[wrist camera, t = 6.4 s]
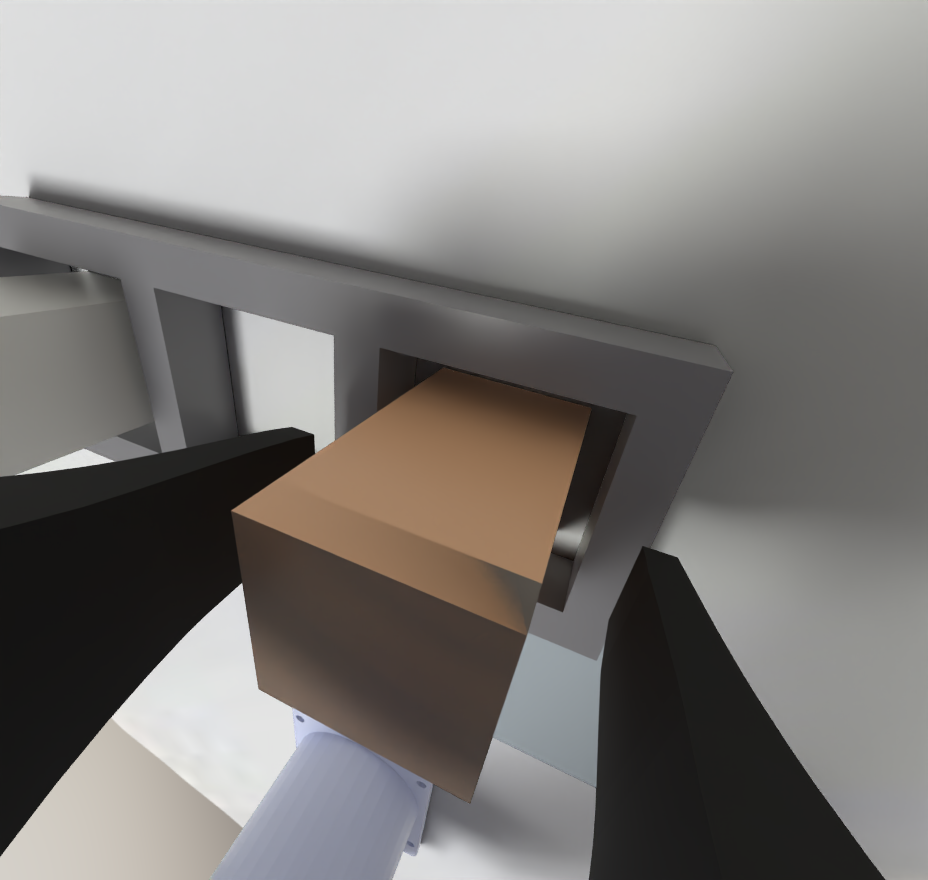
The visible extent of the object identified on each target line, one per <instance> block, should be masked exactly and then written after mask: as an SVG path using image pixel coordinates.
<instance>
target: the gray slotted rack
mask: <svg viewBox="0 0 928 880" xmlns="http://www.w3.org/2000/svg"><path fill="white" fill-rule="evenodd" d="M69 265H70V266H74V267H78V268H82V269H85V270H89V271H93V272H97V273H100V274H104V275H108V276H112V277H116V278H119V279H121V283H122V288H123V292H124V296H125V300H126V304H127V308H128V313H129V317H130V321H131V325H132V329H133V333H134V338H135V342H136V346H137V350H138V354H139V358H140V362H141V367H142V371H143V375H144V379H145V383H146V387H147V392H148V396H149V400H150V404H151V408H152V412H153V417H154V421H153V422H151V423H148V424H146V425H143V426H141V427H138V428H135V429H133V430H130V431H128V432H125V433H122V434H120V435H117V436H115V437H112V438H109V439H107V440H104V441H102V442H99V443H97V444H94V445H91V446H89V447H86V448H84V449H87V450H89V451H92V452H94V453H96V454H99V455H101V456H104V457H106V458H108V459H111V460H113V461H116V462H117V461H122V460H127V459H132V458H138V457H143V456H148V455H153V454H158V453H164V452H169V451H174V450H179V449H184V448H188V447H193V446H198V445H202V444H207V443H211V442H216V441H220V440H225V439H230V438H234V437H239V436H238V429H237V422H236V414H235V407H234V399H233V392H232V385H231V377H230V370H229V362H228V355H227V348H226V340H225V333H224V325H223V318H222V311H221V306H225V307H229V308H232V309H236V310H240V311H244V312H247V313H251V314H255V315H259V316H263V317H266V318H270V319H274V320H278V321H281V322H285V323H289V324H293V325H296V326H300V327H304V328H308V329H312V330H315V331H319V332H323V333H327V334H330V335H334V396H335V440H337V439H338V438H340V437H341V436H343V435H344V434H346V433H347V432H349V431H350V430H352V429H353V428H355V427H356V426H357V425H359V424H360V423H362V422H363V421H365V420H366V419H368V418H369V417H371V416H372V415H374V414H375V413H377V412H378V411H380V410H381V409H383V408H384V407H386V406H387V405H389V404H390V403H392V402H393V401H395V400H396V399H398V398H399V397H400V396H402V395H403V394H405V393H406V392H408V391H409V390H411V389H412V388H414V382H415V371H416V360H417V358H421V359H425V360H428V361H432V362H436V363H440V364H443V365H447V366H451V367H455V368H459V369H462V370H466V371H470V372H474V373H477V374H481V375H485V376H489V377H492V378H496V379H500V380H504V381H508V382H511V383H515V384H519V385H523V386H526V387H530V388H534V389H538V390H541V391H545V392H549V393H553V394H557V395H560V396H564V397H568V398H572V399H575V400H579V401H583V402H587V403H590V404H594V405H598V406H602V407H606V408H609V409H613V410H617V411H621V412H624V413H627V415H626V418H625V421H624V423H623V426H622V429H621V432H620V435H619V437H618V440H617V443H616V446H615V448H614V451H613V454H612V457H611V459H610V462H609V465H608V468H607V470H606V473H605V476H604V479H603V481H602V484H601V487H600V490H599V492H598V495H597V498H596V501H595V503H594V506H593V509H592V512H591V514H590V517H589V520H588V523H587V526H586V528H585V531H584V534H583V537H582V539H581V542H580V545H579V548H578V550H577V553H576V556H575V559H574V561H572V560H569V559H566V558H563V557H561V556H558V555H555V554H552V553H550V557H549V560H548V564H547V568H546V571H545V575H544V578H543V582H542V585H541V589H540V592H539V596H538V599H537V603H536V606H535V610H534V613H533V617H532V620H531V624H530V627H529V631H528V633H530V634H533V635H535V636H537V637H540V638H542V639H545V640H547V641H549V642H552V643H554V644H557V645H559V646H561V647H564V648H566V649H569V650H571V651H573V652H576V653H578V654H581V655H583V656H586V657H588V658H590V659H593V660H595V661H597V659H598V657H599V655H600V653H601V651H602V649H603V647H604V644H605V639H606V633H607V626H608V620H609V618H610V616H611V613H612V611H613V609H614V607H615V605H616V603H617V600H618V598H619V596H620V594H621V592H622V590H623V587H624V585H625V583H626V581H627V579H628V577H629V574H630V572H631V570H632V568H633V566H634V563H635V561H636V559H637V557H638V555H639V553H640V550H641V548H642V546H645V547H648V548H650V547H651V545H652V543H653V541H654V539H655V537H656V534H657V532H658V530H659V528H660V526H661V524H662V522H663V520H664V517H665V515H666V513H667V511H668V509H669V507H670V505H671V503H672V501H673V498H674V496H675V494H676V492H677V490H678V488H679V486H680V484H681V482H682V479H683V477H684V475H685V473H686V471H687V469H688V467H689V465H690V462H691V460H692V458H693V456H694V454H695V452H696V450H697V448H698V446H699V443H700V441H701V439H702V437H703V435H704V433H705V431H706V429H707V426H708V424H709V422H710V420H711V418H712V416H713V414H714V412H715V410H716V407H717V405H718V403H719V401H720V399H721V397H722V395H723V393H724V391H725V388H726V386H727V384H728V382H729V380H730V378H731V376H732V374H733V371H732V369H731V368H730V366H729V365H728V363H727V362H726V360H725V359H724V357H723V356H722V354H721V353H720V351H719V350H718V348H717V347H716V346H715V345H710V344H706V343H701V342H696V341H692V340H687V339H682V338H678V337H673V336H668V335H664V334H659V333H655V332H650V331H645V330H641V329H636V328H631V327H627V326H622V325H617V324H613V323H608V322H603V321H599V320H594V319H590V318H585V317H580V316H576V315H571V314H566V313H562V312H557V311H552V310H548V309H543V308H539V307H534V306H529V305H525V304H520V303H515V302H511V301H506V300H501V299H497V298H492V297H487V296H483V295H478V294H474V293H469V292H464V291H460V290H455V289H450V288H446V287H441V286H436V285H432V284H427V283H423V282H418V281H413V280H409V279H404V278H399V277H395V276H390V275H385V274H381V273H376V272H371V271H367V270H362V269H358V268H353V267H348V266H344V265H339V264H334V263H330V262H325V261H320V260H316V259H311V258H307V257H302V256H297V255H293V254H288V253H283V252H279V251H274V250H269V249H265V248H260V247H255V246H251V245H246V244H242V243H237V242H232V241H228V240H223V239H218V238H214V237H209V236H204V235H200V234H195V233H191V232H186V231H181V230H177V229H172V228H167V227H163V226H158V225H153V224H149V223H144V222H139V221H135V220H130V219H126V218H121V217H116V216H112V215H107V214H102V213H98V212H93V211H88V210H84V209H79V208H75V207H70V206H65V205H61V204H56V203H51V202H47V201H42V200H37V199H33V198H28V197H15V196H0V277H11V276H25V275H40V274H54V273H68V272H71V269H70V266H69Z"/></svg>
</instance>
